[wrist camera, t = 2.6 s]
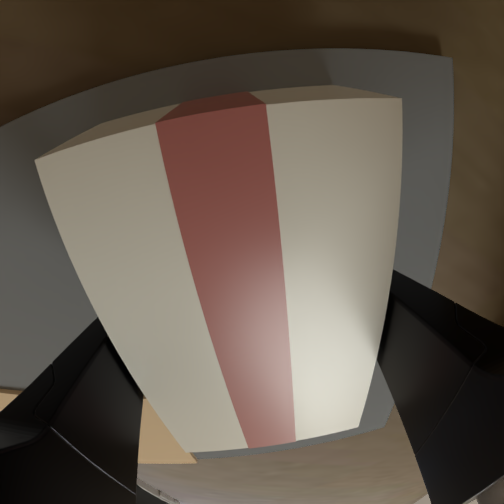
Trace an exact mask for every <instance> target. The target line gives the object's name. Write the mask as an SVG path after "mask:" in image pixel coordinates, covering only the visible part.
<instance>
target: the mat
mask: <svg viewBox="0 0 504 504" xmlns="http://www.w3.org/2000/svg"><path fill="white" fill-rule="evenodd" d="M322 85H337V86H343V87H349V88H355V89H360V90H365V91H371V92H376V93H380V94H385V95H390V96H394V97H398V98H402V123H403V138H402V175H401V193H400V207H399V219H398V230H397V240H396V248H395V257H394V264H393V269H394V270H396V271H398V272H400V273H402V274H403V275H405V276H407V277H409V278H411V279H413V280H415V281H417V282H419V283H420V284H422V285H424V286H426V287H428V288H430V289H431V287H432V283H433V278H434V274H435V269H436V265H437V260H438V255H439V250H440V245H441V239H442V233H443V227H444V221H445V215H446V208H447V200H448V192H449V183H450V173H451V162H452V148H453V127H454V79H453V58H450V57H444V56H437V55H430V54H422V53H413V52H404V51H392V50H377V49H348V48H324V49H296V50H280V51H268V52H258V53H249V54H240V55H233V56H226V57H219V58H213V59H207V60H201V61H196V62H190V63H185V64H180V65H176V66H171V67H167V68H162V69H158V70H154V71H150V72H146V73H142V74H138V75H134V76H131V77H127V78H124V79H120V80H117V81H114V82H110V83H107V84H104V85H101V86H98V87H95V88H92V89H89V90H86V91H83V92H80V93H78V94H75V95H72V96H69V97H67V98H64V99H62V100H59V101H56V102H54V103H51V104H49V105H47V106H44V107H42V108H40V109H37V110H35V111H33V112H30V113H28V114H26V115H24V116H22V117H19V118H17V119H15V120H13V121H11V122H9V123H7V124H5V125H3V126H1V127H0V412H1V411H2V410H3V409H4V408H5V407H6V406H7V405H8V404H9V403H10V402H11V401H12V400H14V399H15V398H16V397H17V396H18V395H19V394H20V393H21V392H22V391H23V390H24V389H26V388H27V387H28V386H29V385H30V384H31V383H32V382H33V381H34V380H35V379H36V378H37V377H38V376H39V375H40V374H41V373H42V372H43V371H44V370H45V369H46V368H47V367H48V366H49V365H50V364H52V362H53V361H54V360H55V359H56V358H57V357H58V356H59V355H60V354H61V353H62V352H63V351H64V350H65V349H66V348H67V347H68V346H69V345H70V344H71V343H72V342H73V341H74V340H75V339H76V338H77V337H78V336H79V335H80V334H81V333H82V332H83V331H84V330H85V329H86V328H87V327H88V326H89V325H90V324H91V323H92V322H93V321H94V320H95V319H96V318H97V317H98V316H97V314H96V312H95V310H94V308H93V306H92V304H91V302H90V300H89V298H88V296H87V294H86V292H85V290H84V288H83V286H82V284H81V281H80V279H79V277H78V275H77V273H76V271H75V268H74V266H73V264H72V262H71V259H70V257H69V255H68V252H67V250H66V248H65V245H64V243H63V240H62V238H61V235H60V233H59V230H58V228H57V225H56V223H55V220H54V217H53V215H52V212H51V209H50V206H49V204H48V201H47V198H46V195H45V192H44V189H43V186H42V183H41V180H40V177H39V174H38V171H37V167H36V164H35V161H34V160H35V159H37V158H39V157H40V156H42V155H44V154H45V153H47V152H49V151H50V150H52V149H54V148H56V147H57V146H59V145H61V144H63V143H65V142H66V141H68V140H70V139H72V138H74V137H76V136H77V135H79V134H81V133H83V132H85V131H87V130H89V129H91V128H93V127H95V126H97V125H99V124H101V123H104V122H107V121H111V120H114V119H118V118H122V117H125V116H129V115H133V114H137V113H141V112H145V111H149V110H153V109H157V108H161V107H166V106H171V105H175V104H180V103H182V102H186V101H191V100H196V99H202V98H207V97H213V96H219V95H226V94H232V93H239V92H253V91H261V90H270V89H280V88H292V87H305V86H322ZM394 403H395V402H394V400H393V397H392V395H391V392H390V390H389V388H388V385H387V383H386V380H385V378H384V376H383V373H382V371H381V369H380V366H379V364H378V362H377V359H376V363H375V367H374V371H373V375H372V380H371V383H370V387H369V391H368V395H367V399H366V402H365V406H364V409H363V413H362V416H361V420H360V423H359V426H358V427H357V428H353V429H349V430H345V431H341V432H337V433H332V434H328V435H323V436H319V437H314V438H309V439H303V440H298V441H296V442H291V443H285V444H279V445H272V446H265V447H258V448H243V449H233V450H222V451H209V452H190V453H186V452H185V451H184V450H183V449H182V447H181V446H180V445H179V443H178V442H177V441H176V439H175V438H174V437H173V435H172V434H171V433H170V431H169V430H168V429H167V427H166V426H165V425H164V423H163V422H162V420H161V419H160V418H159V416H158V415H157V413H156V412H155V410H154V409H153V407H152V406H151V404H150V403H149V402H148V400H147V399H146V397H145V396H144V398H143V407H142V417H141V428H140V439H139V452H138V463H148V464H185V463H197V459H208V458H223V457H234V456H244V455H253V454H261V453H268V452H275V451H282V450H288V449H294V448H300V447H305V446H310V445H315V444H320V443H325V442H329V441H334V440H338V439H342V438H346V437H350V436H354V435H358V434H362V433H365V432H369V431H372V430H376V429H379V428H383V427H384V426H385V424H386V422H387V419H388V417H389V415H390V412H391V410H392V408H393V405H394Z"/></svg>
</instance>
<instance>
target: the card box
mask: <svg viewBox="0 0 504 504" xmlns="http://www.w3.org/2000/svg"><path fill="white" fill-rule="evenodd" d="M402 138H403V123H402V98H398V97H394V96H390V95H385V94H380V93H376V92H371V91H365V90H360V89H355V88H349V87H343V86H337V85H322V86H305V87H292V88H280V89H270V90H261V91H253V92H239V93H232V94H226V95H219V96H213V97H207V98H202V99H196V100H191V101H186V102H182V103H180V104H175V105H171V106H166V107H161V108H157V109H153V110H149V111H145V112H141V113H137V114H133V115H129V116H125V117H122V118H118V119H114V120H111V121H107V122H104V123H101V124H99V125H97V126H95V127H93V128H91V129H89V130H87V131H85V132H83V133H81V134H79V135H77V136H76V137H74V138H72V139H70V140H68V141H66V142H65V143H63V144H61V145H59V146H57V147H56V148H54V149H52V150H50V151H49V152H47V153H45V154H44V155H42V156H40V157H39V158H37V159H35V160H34V161H35V164H36V167H37V171H38V174H39V177H40V180H41V183H42V186H43V189H44V192H45V195H46V198H47V201H48V204H49V206H50V209H51V212H52V215H53V217H54V220H55V223H56V225H57V228H58V230H59V233H60V235H61V238H62V240H63V243H64V245H65V248H66V250H67V252H68V255H69V257H70V259H71V262H72V264H73V266H74V268H75V271H76V273H77V275H78V277H79V279H80V281H81V284H82V286H83V288H84V290H85V292H86V294H87V296H88V298H89V300H90V302H91V304H92V306H93V308H94V310H95V312H96V314H97V316H98V318H99V320H100V321H101V323H102V325H103V327H104V329H105V331H106V333H107V334H108V336H109V338H110V340H111V342H112V343H113V345H114V347H115V349H116V350H117V352H118V354H119V355H120V357H121V359H122V360H123V362H124V364H125V365H126V367H127V369H128V370H129V372H130V374H131V375H132V377H133V378H134V380H135V382H136V383H137V385H138V386H139V388H140V389H141V391H142V392H143V394H144V396H145V397H146V399H147V400H148V402H149V403H150V404H151V406H152V407H153V409H154V410H155V412H156V413H157V415H158V416H159V418H160V419H161V420H162V422H163V423H164V425H165V426H166V427H167V429H168V430H169V431H170V433H171V434H172V435H173V437H174V438H175V439H176V441H177V442H178V443H179V445H180V446H181V447H182V449H183V450H184V451H185V452H186V453H190V452H209V451H222V450H233V449H243V448H258V447H265V446H272V445H279V444H285V443H291V442H296V441H298V440H303V439H309V438H314V437H319V436H323V435H328V434H332V433H337V432H341V431H345V430H349V429H353V428H357V427H358V426H359V423H360V420H361V416H362V413H363V409H364V406H365V402H366V399H367V395H368V391H369V387H370V383H371V380H372V375H373V371H374V367H375V363H376V359H377V354H378V350H379V345H380V340H381V336H382V331H383V326H384V320H385V315H386V309H387V304H388V298H389V292H390V285H391V279H392V272H393V264H394V257H395V248H396V240H397V230H398V219H399V207H400V193H401V175H402Z"/></svg>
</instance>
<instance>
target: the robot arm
mask: <svg viewBox="0 0 504 504" xmlns="http://www.w3.org/2000/svg"><path fill="white" fill-rule="evenodd" d="M377 362H378V364H379V366H380V369H381V371H382V373H383V376H384V378H385V380H386V383H387V385H388V388H389V390H390V392H391V395H392V397H393V400H394V402H395V405H396V407H397V410H398V412H399V415H400V417H401V420H402V422H403V425H404V428H405V430H406V433H407V435H408V438H409V441H410V443H411V446H412V449H413V451H414V454H415V457H416V460H417V463H418V466H419V468H420V471H421V474H422V477H423V480H424V483H425V486H426V489H427V492H428V494H429V498H430V501H431V504H468V503H470V502H471V501H473V500H475V499H477V502H478V504H504V327H502V326H500V325H498V324H496V323H494V322H492V321H489V320H487V319H485V318H483V317H481V316H479V315H477V314H476V313H474V312H472V311H470V310H468V309H466V308H464V307H463V306H461V305H459V304H457V303H454V301H452V300H450V299H448V298H446V297H444V296H443V295H441V294H439V293H437V292H435V291H433V290H432V289H430V288H428V287H426V286H424V285H422V284H420V283H419V282H417V281H415V280H413V279H411V278H409V277H407V276H405V275H403V274H402V273H400V272H398V271H396V270H394V269H393V272H392V279H391V285H390V292H389V298H388V304H387V309H386V315H385V320H384V326H383V331H382V336H381V340H380V345H379V350H378V354H377ZM143 398H144V394H143V392H142V391H141V389H140V388H139V386H138V385H137V383H136V382H135V380H134V378H133V377H132V375H131V374H130V372H129V370H128V369H127V367H126V365H125V364H124V362H123V360H122V359H121V357H120V355H119V354H118V352H117V350H116V349H115V347H114V345H113V343H112V342H111V340H110V338H109V336H108V334H107V333H106V331H105V329H104V327H103V325H102V323H101V321H100V320H99V318H98V317H97V318H96V319H95V320H94V321H93V322H92V323H91V324H90V325H89V326H88V327H87V328H86V329H85V330H84V331H83V332H82V333H81V334H80V335H79V336H78V337H77V338H76V339H75V340H74V341H73V342H72V343H71V344H70V345H69V346H68V347H67V348H66V349H65V350H64V351H63V352H62V353H61V354H60V355H59V356H58V357H57V358H56V359H55V360H54V361H53V362H52V364H50V365H49V366H48V367H47V368H46V369H45V370H44V371H43V372H42V373H41V374H40V375H39V376H38V377H37V378H36V379H35V380H34V381H33V382H32V383H31V384H30V385H29V386H28V387H27V388H26V389H24V390H23V391H22V392H21V393H20V394H19V395H18V396H17V397H16V398H15V399H14V400H12V401H11V402H10V403H9V404H8V405H7V406H6V407H5V408H4V409H3V410H2V411H1V412H0V504H136V495H135V494H136V487H137V468H138V452H139V439H140V428H141V417H142V407H143Z"/></svg>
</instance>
